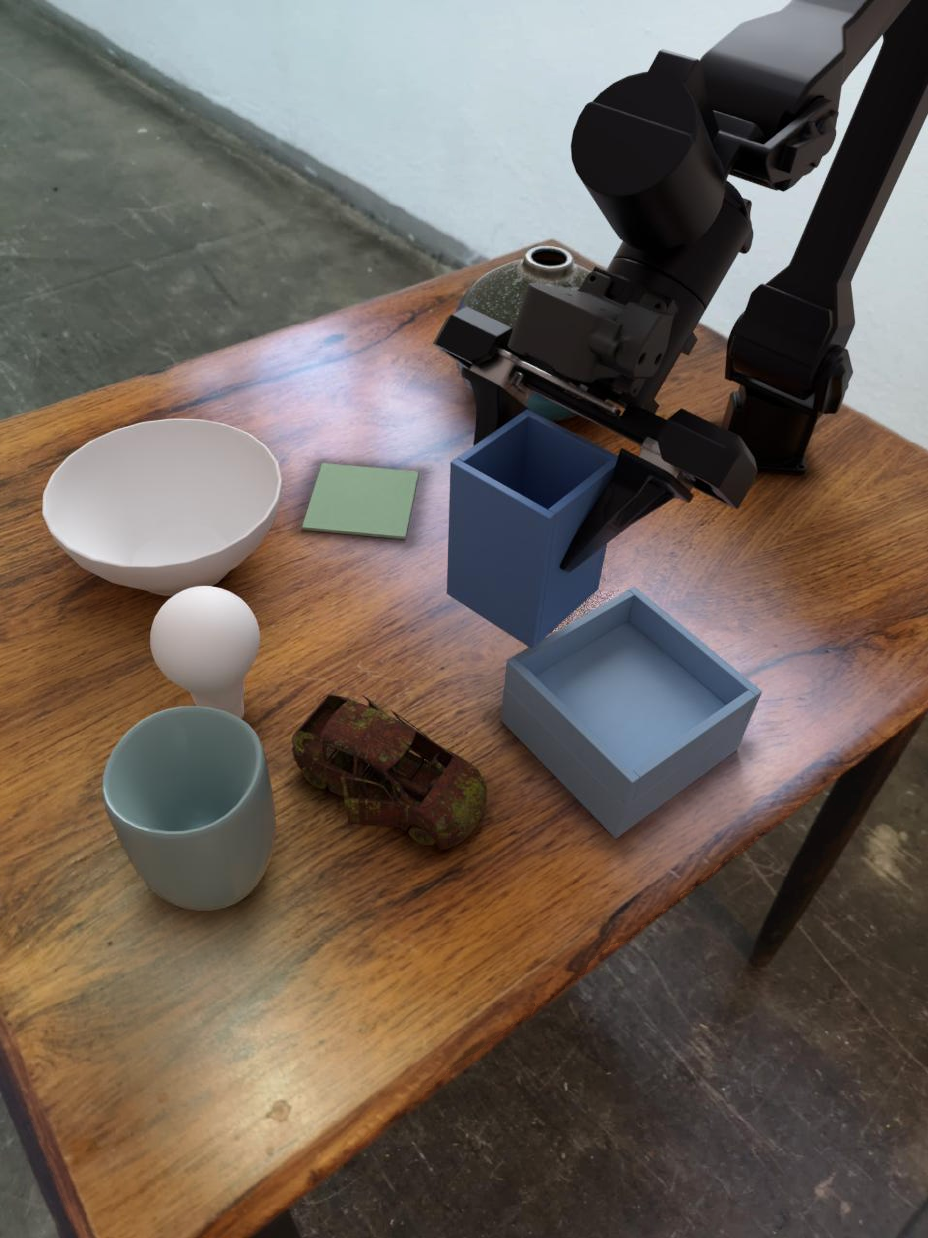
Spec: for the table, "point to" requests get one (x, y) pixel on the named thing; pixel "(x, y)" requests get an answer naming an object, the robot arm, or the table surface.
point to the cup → (192, 805)
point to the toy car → (389, 772)
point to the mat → (361, 501)
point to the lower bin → (626, 708)
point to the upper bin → (524, 524)
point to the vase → (505, 295)
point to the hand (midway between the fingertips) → (514, 540)
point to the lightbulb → (207, 645)
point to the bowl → (164, 503)
